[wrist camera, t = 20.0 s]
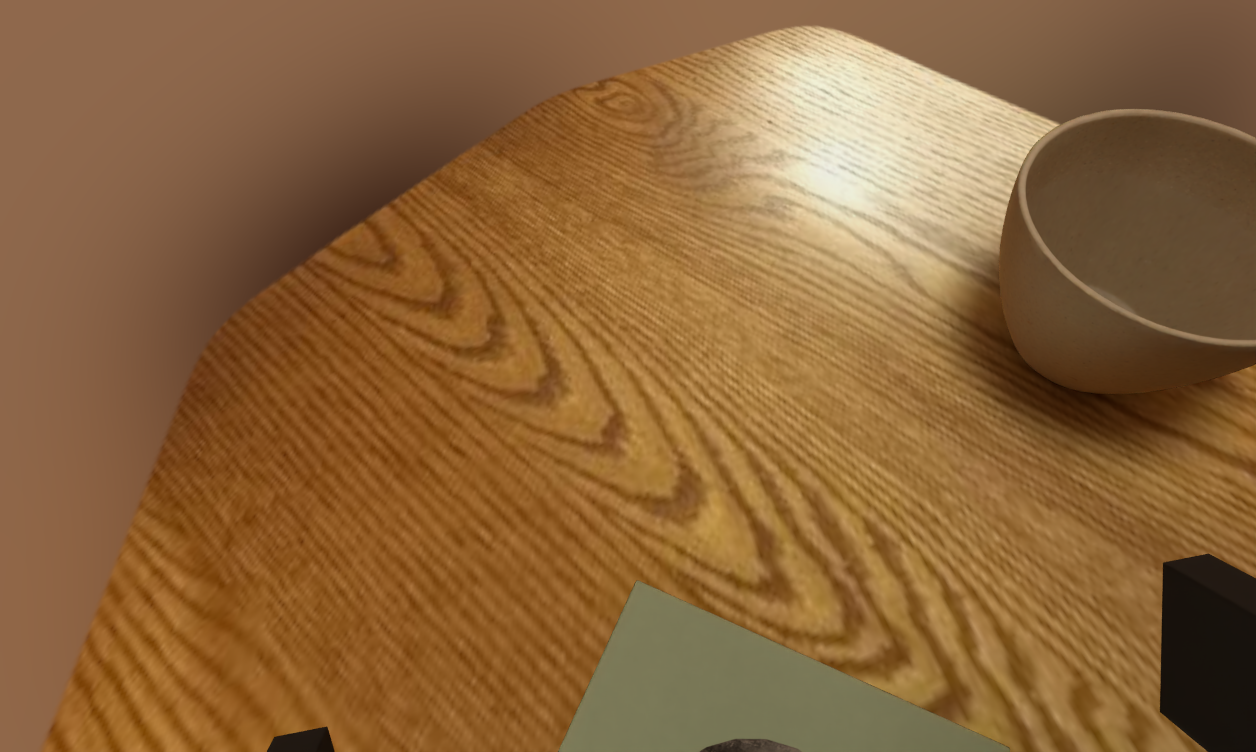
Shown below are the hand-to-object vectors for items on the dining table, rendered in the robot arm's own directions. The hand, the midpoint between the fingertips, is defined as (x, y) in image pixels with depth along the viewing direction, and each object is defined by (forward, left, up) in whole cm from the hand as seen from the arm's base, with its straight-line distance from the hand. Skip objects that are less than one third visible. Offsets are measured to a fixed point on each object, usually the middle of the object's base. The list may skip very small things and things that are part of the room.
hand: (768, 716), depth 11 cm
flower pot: (+7, +20, -12) cm, 25 cm away
